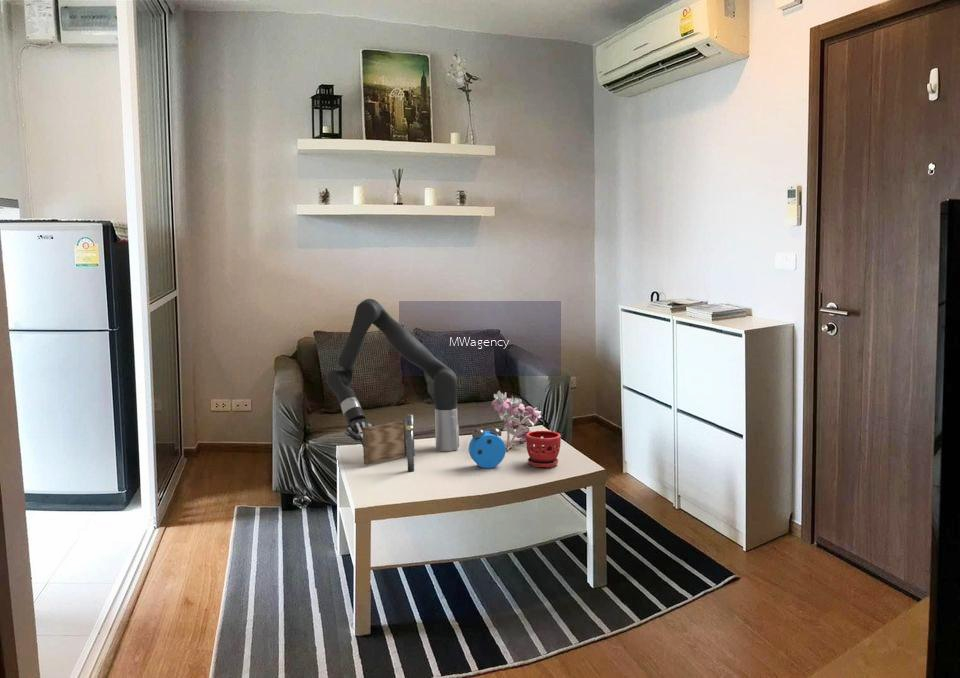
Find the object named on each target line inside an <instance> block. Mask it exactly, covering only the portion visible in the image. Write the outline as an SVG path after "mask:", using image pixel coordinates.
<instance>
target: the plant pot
mask: <svg viewBox="0 0 960 678" xmlns="http://www.w3.org/2000/svg"><path fill="white" fill-rule="evenodd" d="M561 439H562V435H561V434H560V433H559V432H557V431H551V430H534V431H532V432H529V433H527V434H526V440H525V443H526V444H525V446H526V451H527V455H528V458H527V462H528V463H529V465H531V466H533V467H535V468H539V467H547V468H551V467H554V466H556V465H557V464H558V463H559V459H558V458H557V457H558V456H559V454H560V449H561V443H562V442H561Z"/></svg>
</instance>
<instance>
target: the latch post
mask: <svg viewBox="0 0 960 678" xmlns="http://www.w3.org/2000/svg"><path fill="white" fill-rule="evenodd" d="M406 434H407V456H406V457H407V461H406V462H407V472H409V473H412V472H415V457H414V453H415V447H414V448H413V426H412V425H408V426H407V425H406Z"/></svg>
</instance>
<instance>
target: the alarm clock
mask: <svg viewBox="0 0 960 678" xmlns="http://www.w3.org/2000/svg"><path fill="white" fill-rule="evenodd" d="M502 435H503V434H502V430H501V429H500V428H499V427H490V429H482V428H476V429H475V430H473V432H472V434H471V436H472V438H471V440H470V442H469V444H468V453H469V457H470V458H471V459H472V460H473V462H474V463H475V464H476V466H477V467H481V468H483V469H492V468H495V467H497V466H498V465H500V463H502V462H503V460H504V458H505V456H506V451H507V448H505V444H504V442H503V441H504V440H503V439H502V438H501V437H502Z"/></svg>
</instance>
